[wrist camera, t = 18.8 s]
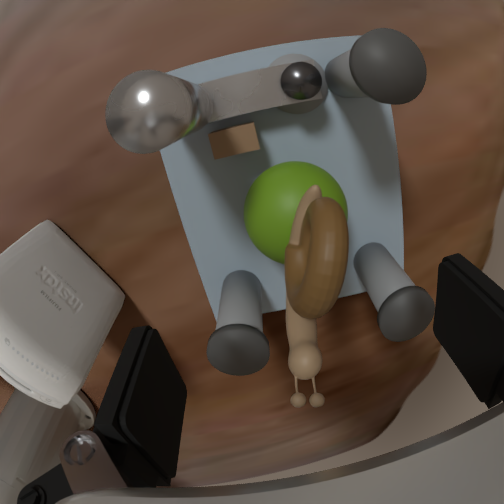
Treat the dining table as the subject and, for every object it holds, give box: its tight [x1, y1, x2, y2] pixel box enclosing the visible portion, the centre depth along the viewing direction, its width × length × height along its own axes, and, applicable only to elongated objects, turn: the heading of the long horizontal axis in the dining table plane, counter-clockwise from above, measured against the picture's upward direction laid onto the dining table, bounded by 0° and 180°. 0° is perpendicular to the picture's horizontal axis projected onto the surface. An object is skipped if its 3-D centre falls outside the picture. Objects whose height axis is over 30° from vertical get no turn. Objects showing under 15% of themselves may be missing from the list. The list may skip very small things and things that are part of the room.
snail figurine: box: [243, 161, 349, 407], centre depth 14 cm, size 5×6×12 cm
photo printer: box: [0, 220, 125, 409], centre depth 19 cm, size 10×4×12 cm, turn 40°
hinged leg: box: [105, 60, 322, 154], centre depth 12 cm, size 8×3×8 cm, turn 103°
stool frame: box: [160, 28, 435, 376], centre depth 17 cm, size 17×14×9 cm
